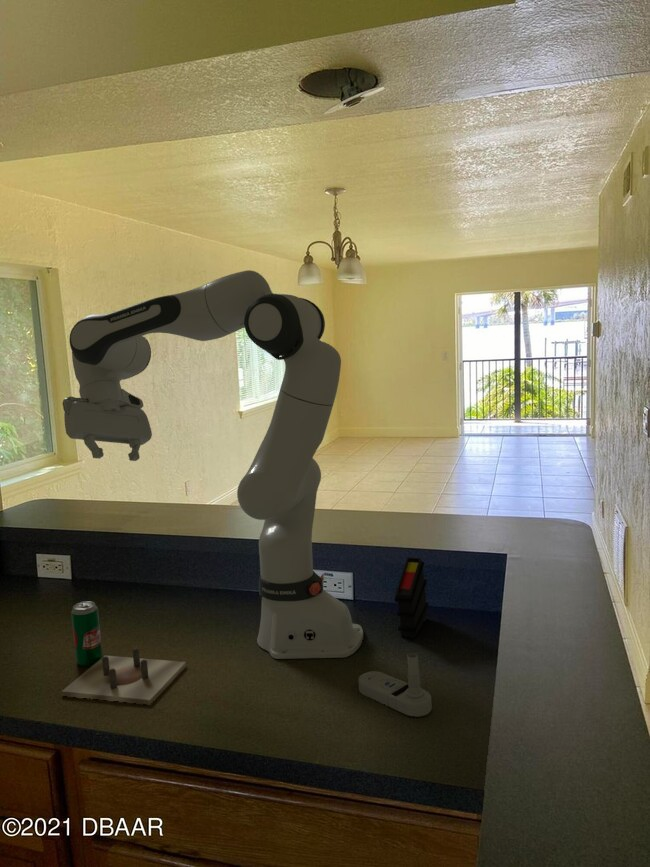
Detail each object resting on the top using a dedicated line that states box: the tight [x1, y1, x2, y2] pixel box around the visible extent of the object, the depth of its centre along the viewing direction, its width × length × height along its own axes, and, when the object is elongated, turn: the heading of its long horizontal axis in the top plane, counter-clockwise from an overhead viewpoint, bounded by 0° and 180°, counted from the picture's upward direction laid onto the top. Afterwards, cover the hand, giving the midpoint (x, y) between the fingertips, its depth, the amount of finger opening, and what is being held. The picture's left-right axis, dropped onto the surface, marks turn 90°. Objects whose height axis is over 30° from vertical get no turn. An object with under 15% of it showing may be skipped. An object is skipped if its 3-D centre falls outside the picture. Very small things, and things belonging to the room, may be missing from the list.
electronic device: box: [357, 652, 433, 718], centre depth 112 cm, size 5×10×15 cm
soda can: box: [70, 600, 104, 667], centre depth 132 cm, size 5×5×12 cm
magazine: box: [394, 557, 429, 638], centre depth 139 cm, size 4×13×15 cm, turn 157°
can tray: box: [61, 647, 187, 706], centre depth 123 cm, size 18×14×5 cm
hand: (117, 458), depth 139 cm, fingers open, 8 cm apart
